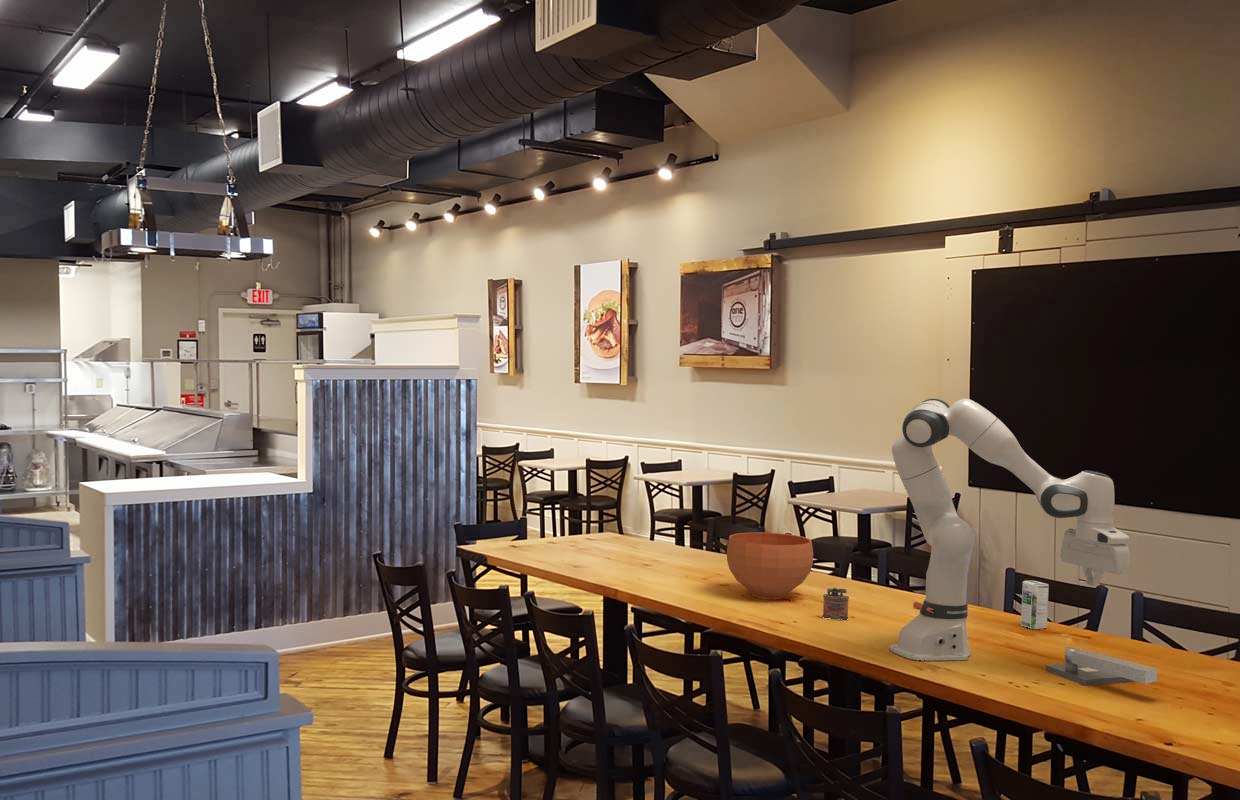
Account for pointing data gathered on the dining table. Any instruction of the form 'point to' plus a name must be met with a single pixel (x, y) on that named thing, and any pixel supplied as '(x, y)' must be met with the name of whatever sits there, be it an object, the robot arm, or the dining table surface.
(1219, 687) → the dining table surface
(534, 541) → the dining table surface
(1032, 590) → the syrup box
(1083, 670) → the grey pivot base plate
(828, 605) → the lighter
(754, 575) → the bowl
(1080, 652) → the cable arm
